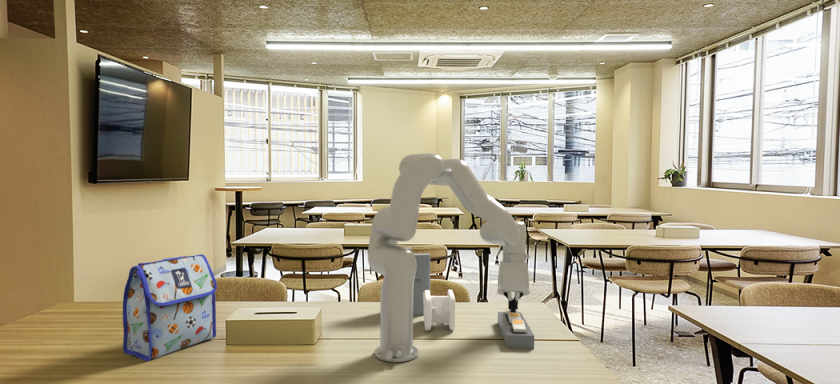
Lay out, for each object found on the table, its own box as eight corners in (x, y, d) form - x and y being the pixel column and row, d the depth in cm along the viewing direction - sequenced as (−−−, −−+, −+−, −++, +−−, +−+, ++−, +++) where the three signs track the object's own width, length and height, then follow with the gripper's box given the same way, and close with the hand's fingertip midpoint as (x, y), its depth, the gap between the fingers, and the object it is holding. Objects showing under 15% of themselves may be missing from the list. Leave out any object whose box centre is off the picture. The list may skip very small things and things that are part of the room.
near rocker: (525, 331, 149) (525, 328, 148) (513, 331, 149) (514, 328, 149) (523, 322, 153) (523, 319, 153) (511, 322, 154) (511, 319, 153)
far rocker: (517, 314, 164) (517, 310, 164) (506, 313, 165) (506, 310, 165) (515, 311, 169) (515, 308, 169) (505, 311, 170) (505, 308, 170)
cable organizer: (455, 333, 160) (456, 299, 159) (423, 333, 160) (423, 298, 159) (452, 320, 175) (452, 288, 174) (422, 320, 175) (422, 288, 174)
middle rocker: (521, 323, 157) (521, 320, 156) (510, 323, 157) (510, 320, 156) (519, 316, 161) (519, 313, 161) (508, 315, 162) (508, 312, 161)
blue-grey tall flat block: (383, 314, 181) (383, 248, 180) (384, 311, 185) (384, 246, 184) (429, 315, 180) (430, 248, 179) (429, 311, 185) (430, 246, 184)
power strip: (534, 348, 147) (534, 333, 146) (507, 348, 147) (507, 333, 147) (516, 315, 181) (516, 303, 180) (494, 315, 181) (495, 303, 181)
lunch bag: (151, 365, 132) (150, 267, 131) (117, 353, 140) (116, 261, 139) (222, 340, 152) (222, 255, 151) (189, 331, 160) (188, 250, 159)
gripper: (534, 256, 167) (533, 309, 168) (490, 255, 168) (489, 307, 169) (538, 260, 160) (537, 315, 160) (492, 259, 161) (491, 314, 161)
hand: (512, 311), depth 165 cm, fingers closed
